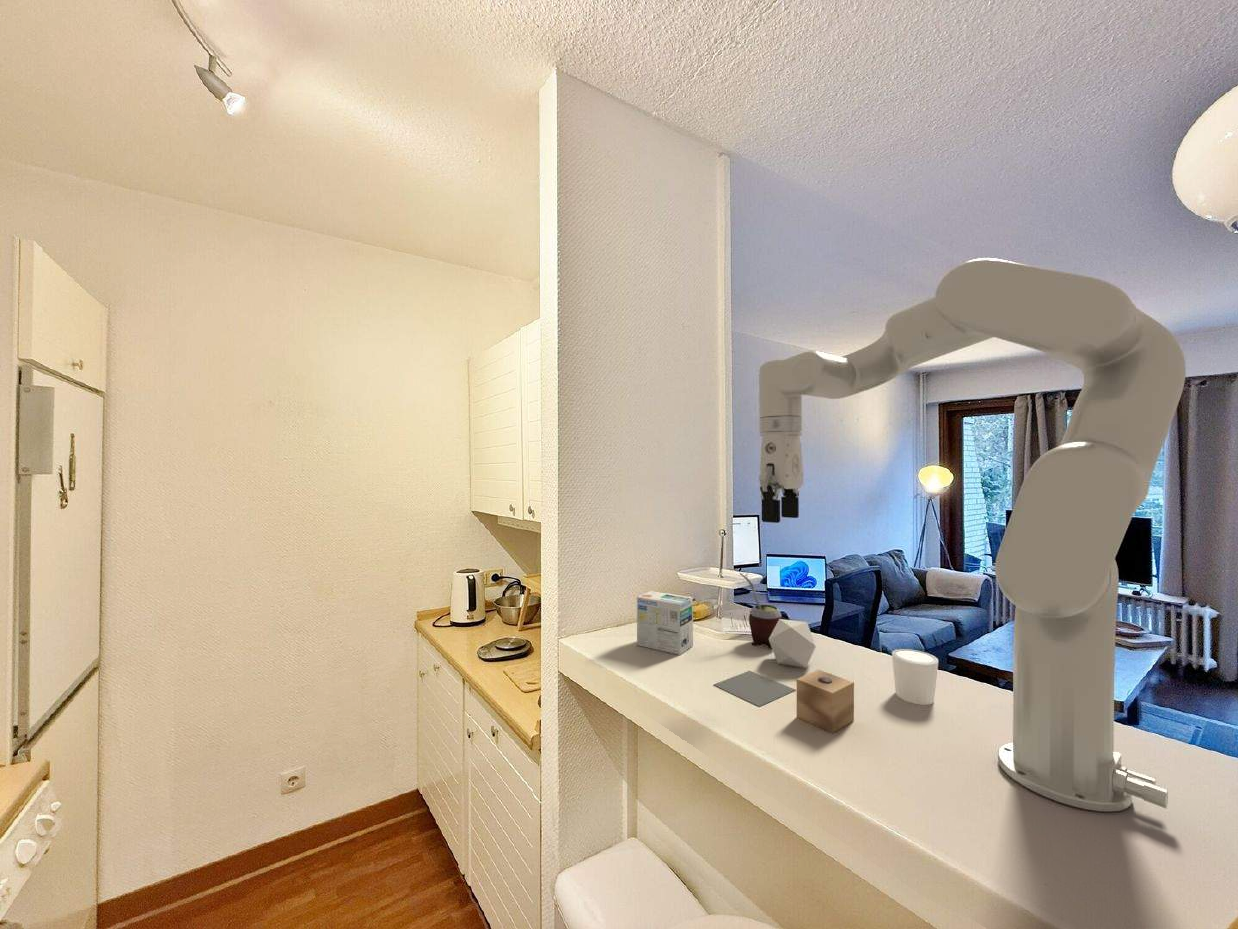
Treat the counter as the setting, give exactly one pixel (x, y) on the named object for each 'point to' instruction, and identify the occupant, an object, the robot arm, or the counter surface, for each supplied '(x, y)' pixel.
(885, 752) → the counter surface
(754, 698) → the mat
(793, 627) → the die
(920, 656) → the white cylinder
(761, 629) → the mate gourd
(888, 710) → the counter surface
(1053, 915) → the counter surface
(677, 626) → the light bulb box
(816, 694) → the walnut block
